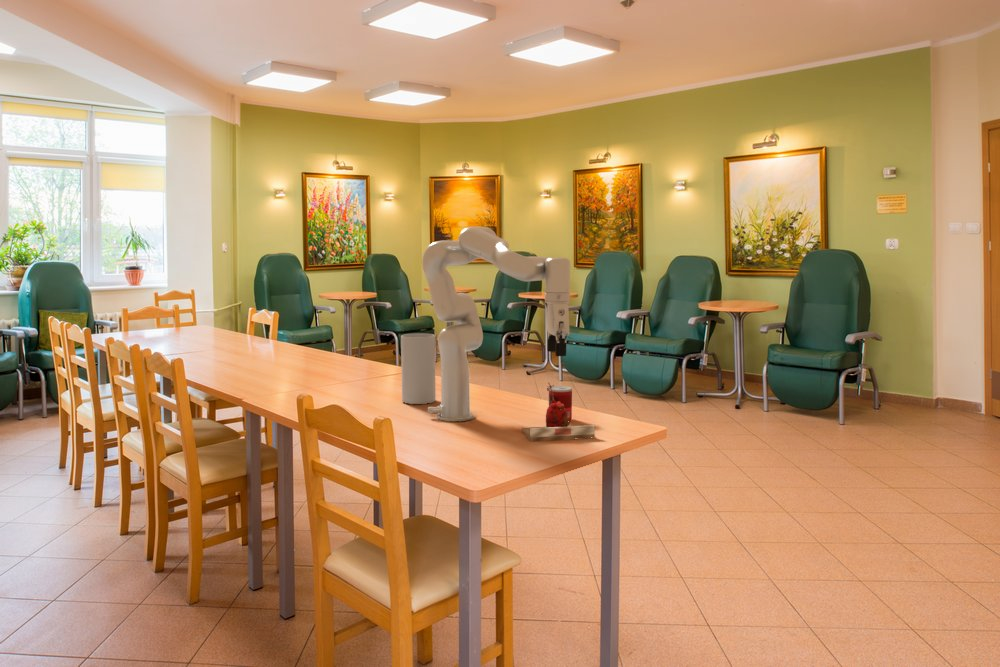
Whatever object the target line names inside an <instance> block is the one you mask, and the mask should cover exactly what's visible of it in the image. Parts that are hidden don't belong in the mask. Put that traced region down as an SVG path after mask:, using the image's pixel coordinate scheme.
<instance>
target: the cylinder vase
mask: <svg viewBox="0 0 1000 667" xmlns="http://www.w3.org/2000/svg"><path fill="white" fill-rule="evenodd" d="M400 349H401V350H400V354H401V356H400V357H401V358H400V361H401V362H400V363H401V364H400V365H401V401H402V402H403V403H404V402H405V404H406V403H409V404H408V405H413V404H422V405H427V403H429V404H432V403H434V402H435V401H436V399H437V398H436V396H437V395H436V394H437V393H436V336H435V334H433V333H422V332H421V333H418V332H417V333H405V334H402V335H401V336H400Z"/></svg>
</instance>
